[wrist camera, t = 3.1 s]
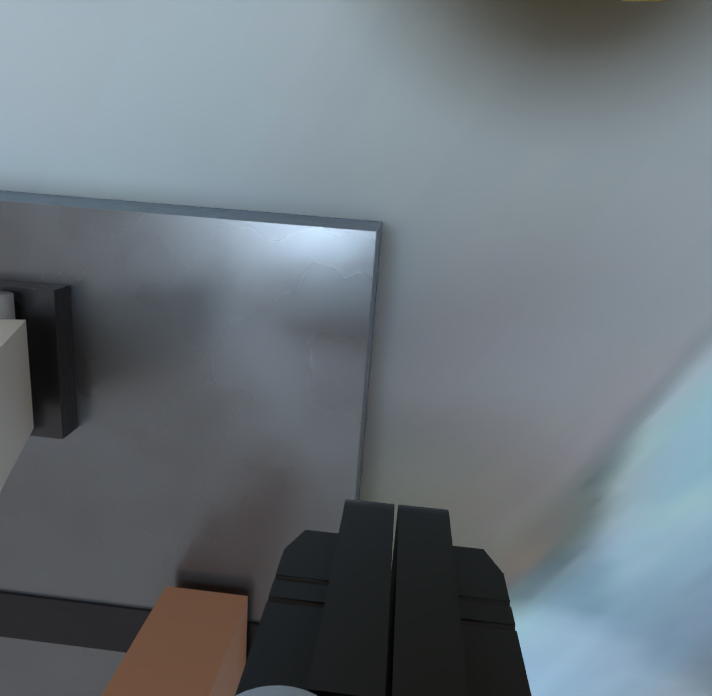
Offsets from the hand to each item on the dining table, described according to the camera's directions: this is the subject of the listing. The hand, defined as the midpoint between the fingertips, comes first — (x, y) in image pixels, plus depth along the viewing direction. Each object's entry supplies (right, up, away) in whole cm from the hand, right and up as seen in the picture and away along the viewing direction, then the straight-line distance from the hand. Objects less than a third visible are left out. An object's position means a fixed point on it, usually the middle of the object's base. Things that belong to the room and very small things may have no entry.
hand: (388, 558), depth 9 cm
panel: (-9, -5, +13) cm, 16 cm away
